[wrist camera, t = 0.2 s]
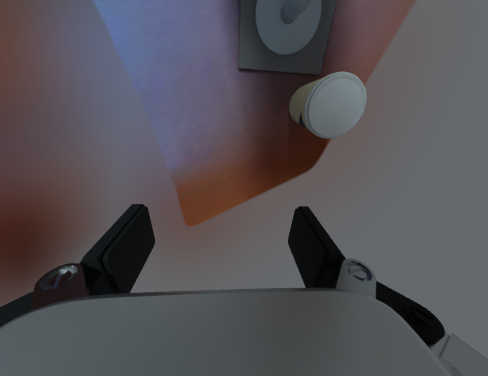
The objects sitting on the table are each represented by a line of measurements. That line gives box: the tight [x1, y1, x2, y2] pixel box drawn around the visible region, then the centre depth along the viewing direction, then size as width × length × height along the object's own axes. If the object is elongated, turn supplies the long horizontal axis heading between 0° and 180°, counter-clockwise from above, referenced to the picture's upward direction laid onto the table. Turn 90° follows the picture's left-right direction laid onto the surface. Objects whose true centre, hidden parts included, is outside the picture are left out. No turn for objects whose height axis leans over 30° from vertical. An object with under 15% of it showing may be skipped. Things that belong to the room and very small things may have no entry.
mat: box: [238, 0, 336, 75], centre depth 30 cm, size 16×16×1 cm
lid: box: [255, 0, 322, 55], centre depth 26 cm, size 11×11×8 cm
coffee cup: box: [289, 72, 366, 138], centre depth 31 cm, size 9×9×12 cm
